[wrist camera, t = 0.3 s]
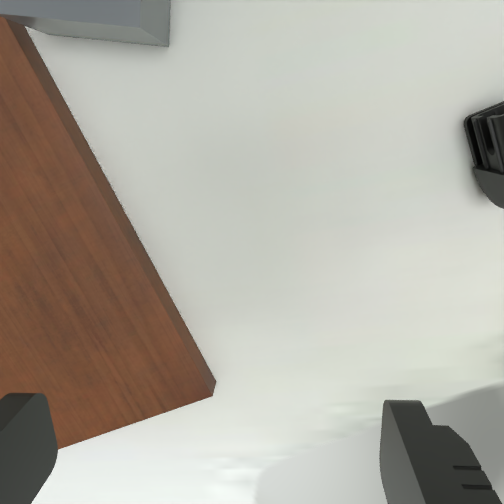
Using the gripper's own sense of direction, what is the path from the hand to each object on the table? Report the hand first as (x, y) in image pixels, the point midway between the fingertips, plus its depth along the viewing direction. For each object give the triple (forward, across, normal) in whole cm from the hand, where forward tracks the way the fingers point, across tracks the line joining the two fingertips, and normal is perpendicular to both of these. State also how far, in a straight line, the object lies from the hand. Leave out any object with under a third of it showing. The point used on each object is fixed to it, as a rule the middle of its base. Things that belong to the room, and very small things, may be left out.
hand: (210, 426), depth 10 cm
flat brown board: (+29, +28, +7) cm, 41 cm away
